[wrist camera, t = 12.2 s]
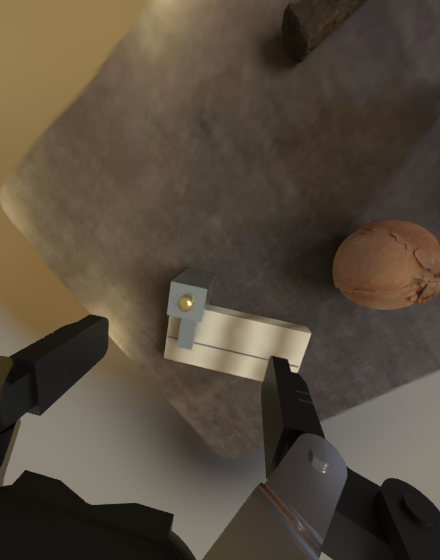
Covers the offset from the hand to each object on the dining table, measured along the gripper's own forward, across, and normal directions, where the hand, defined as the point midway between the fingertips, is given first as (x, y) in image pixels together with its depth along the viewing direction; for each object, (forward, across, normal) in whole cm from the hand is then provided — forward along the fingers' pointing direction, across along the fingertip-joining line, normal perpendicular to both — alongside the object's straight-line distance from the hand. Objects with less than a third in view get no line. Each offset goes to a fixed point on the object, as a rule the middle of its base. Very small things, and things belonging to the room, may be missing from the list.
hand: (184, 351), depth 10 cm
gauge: (+19, +3, +6) cm, 21 cm away
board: (+20, -3, +10) cm, 22 cm away
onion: (+20, -16, -4) cm, 26 cm away
